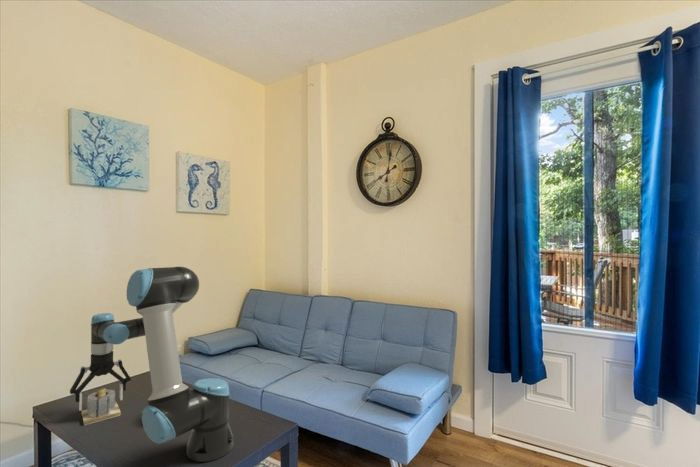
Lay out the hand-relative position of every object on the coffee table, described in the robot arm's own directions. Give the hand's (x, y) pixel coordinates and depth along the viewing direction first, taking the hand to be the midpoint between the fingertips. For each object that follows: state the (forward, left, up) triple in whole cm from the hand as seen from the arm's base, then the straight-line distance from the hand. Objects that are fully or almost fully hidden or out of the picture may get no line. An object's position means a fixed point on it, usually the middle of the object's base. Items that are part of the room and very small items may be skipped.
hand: (101, 404), depth 143 cm
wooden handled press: (0, 0, -4) cm, 4 cm away
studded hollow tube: (0, 0, -3) cm, 3 cm away
